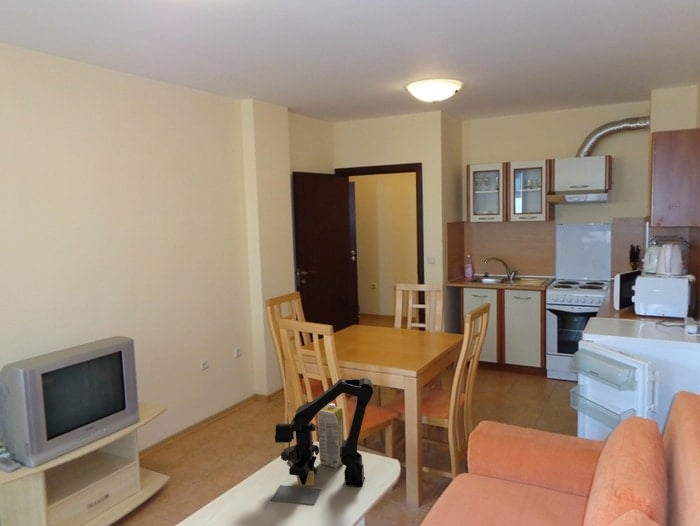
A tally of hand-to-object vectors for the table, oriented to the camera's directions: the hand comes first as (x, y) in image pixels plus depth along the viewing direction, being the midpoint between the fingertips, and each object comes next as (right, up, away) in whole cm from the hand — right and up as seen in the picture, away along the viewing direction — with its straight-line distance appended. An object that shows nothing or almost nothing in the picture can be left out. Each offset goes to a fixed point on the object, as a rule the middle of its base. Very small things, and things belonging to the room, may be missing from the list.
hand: (305, 481), depth 197 cm
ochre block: (0, -1, 0) cm, 1 cm away
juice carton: (+10, +1, +15) cm, 18 cm away
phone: (-2, 0, +13) cm, 13 cm away
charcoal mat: (-3, -2, -7) cm, 8 cm away
